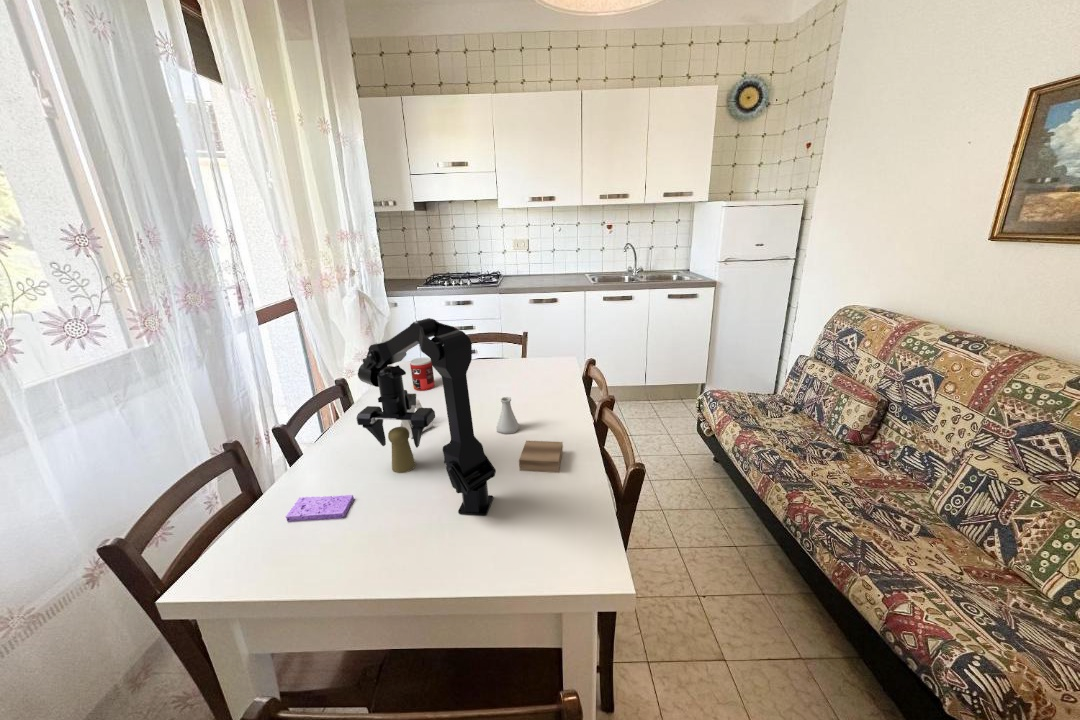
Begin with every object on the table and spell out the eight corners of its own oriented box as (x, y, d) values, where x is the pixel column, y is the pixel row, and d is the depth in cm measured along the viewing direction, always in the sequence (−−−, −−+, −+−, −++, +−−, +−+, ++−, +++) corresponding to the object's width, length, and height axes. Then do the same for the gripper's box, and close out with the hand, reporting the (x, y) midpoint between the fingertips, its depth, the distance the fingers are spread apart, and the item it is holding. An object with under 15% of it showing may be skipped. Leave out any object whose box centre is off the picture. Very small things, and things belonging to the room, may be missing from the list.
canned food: (412, 386, 170) (408, 359, 167) (432, 382, 173) (429, 356, 170) (415, 392, 164) (411, 365, 160) (436, 388, 167) (433, 361, 163)
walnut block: (558, 472, 110) (558, 461, 109) (519, 470, 112) (519, 460, 111) (562, 451, 119) (562, 442, 118) (526, 450, 121) (526, 440, 120)
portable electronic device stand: (412, 439, 130) (408, 413, 127) (394, 433, 134) (390, 408, 131) (433, 427, 136) (430, 402, 134) (416, 421, 140) (412, 398, 138)
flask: (516, 435, 129) (514, 404, 126) (493, 433, 131) (490, 403, 128) (522, 424, 136) (520, 394, 133) (499, 422, 137) (497, 393, 134)
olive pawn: (386, 469, 114) (380, 432, 111) (403, 458, 119) (397, 422, 116) (404, 475, 112) (397, 436, 108) (420, 463, 117) (415, 426, 113)
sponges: (301, 503, 103) (299, 496, 102) (355, 500, 103) (354, 493, 103) (286, 523, 96) (284, 516, 95) (344, 519, 97) (342, 512, 96)
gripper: (439, 379, 115) (446, 432, 119) (373, 378, 117) (382, 430, 122) (422, 396, 104) (430, 453, 109) (350, 394, 107) (361, 450, 112)
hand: (400, 446), depth 113 cm, fingers open, 9 cm apart
